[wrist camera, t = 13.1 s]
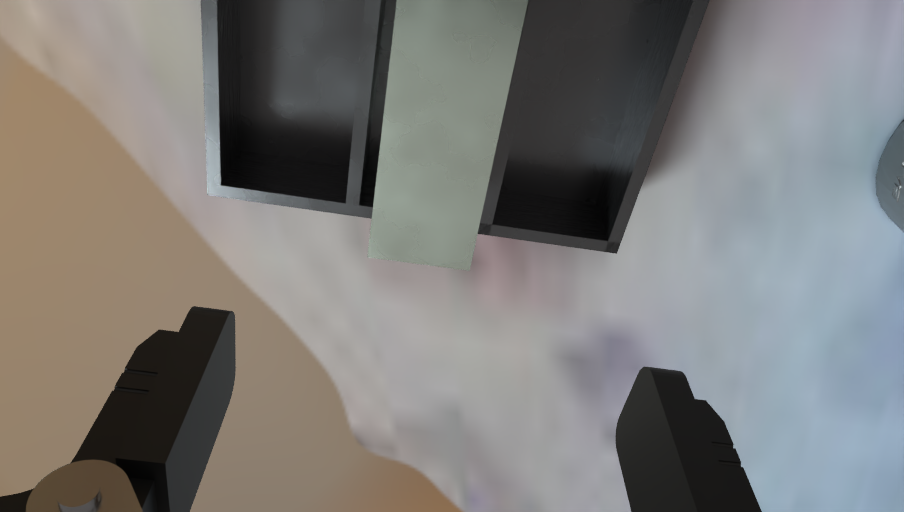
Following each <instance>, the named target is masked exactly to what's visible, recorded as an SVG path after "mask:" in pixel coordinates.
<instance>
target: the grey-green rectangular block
mask: <svg viewBox="0 0 904 512" xmlns="http://www.w3.org/2000/svg"><path fill="white" fill-rule="evenodd" d="M527 4H528V0H397V2H396V11H395V19H394V28H393V37H392V46H391V54H390V63H389V72H388V81H387V89H386V98H385V107H384V116H383V124H382V133H381V142H380V151H379V159H378V168H377V177H376V186H375V194H374V203H373V212H372V221H371V229H370V238H369V247H368V256H367V257H370V258H377V259H385V260H392V261H400V262H407V263H415V264H423V265H430V266H438V267H445V268H453V269H460V270H468V271H469V270H470V266H471V261H472V257H473V252H474V247H475V243H476V238H477V234H478V229H479V225H480V220H481V215H482V211H483V206H484V202H485V197H486V192H487V188H488V183H489V179H490V174H491V169H492V165H493V160H494V156H495V151H496V147H497V142H498V137H499V133H500V128H501V124H502V119H503V114H504V110H505V105H506V101H507V96H508V91H509V87H510V82H511V78H512V73H513V68H514V64H515V59H516V55H517V50H518V46H519V41H520V36H521V32H522V27H523V23H524V18H525V13H526V9H527Z"/></svg>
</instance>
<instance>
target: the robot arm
mask: <svg viewBox="0 0 904 512" xmlns="http://www.w3.org/2000/svg"><path fill="white" fill-rule="evenodd" d="M876 194H877V197H878V200H879V203H880V206H881V208H882V209H883V210H884V212H885V213H886V214H887V216H888V217H889V218H890V219H891V220H892V221H893V222H894V223H895V224H896V225H897V226H898V227H899V228H900V229H901V230H902V231H903V232H904V121H903V122H902V123H901V124H900V125H899V127H898V128H897V130H896V131H895V133H894V134H893V135H892V137H891V138H890V140H889V141H888V143H887V145H886V147H885V149H884V151H883V154H882V156H881V158H880V160H879V165H878V169H877V174H876ZM234 380H235V315H234V312H233V311H226V310H219V309H211V308H203V307H196V306H194V307H192V308H191V309H190V311H189V312H188V314H187V316H186V318H185V320H184V322H183V324H182V326H181V328H180V330H179V332H174V331H166V330H158V331H157V332H155V333H154V334H153V335H152V336H150V337H149V338H148V339H146V340H145V341H144V342H143V343H142V344H140V345H139V346H138V347H137V348H136V350H135V351H134V353H133V355H132V357H131V359H130V360H129V362H128V364H127V366H126V367H125V371H124V373H122V374H121V376H120V378H119V380H118V381H117V383H116V385H115V389H114V391H112V392H111V394H110V396H109V397H108V399H107V401H106V403H105V404H104V406H103V408H102V410H101V412H100V413H99V415H98V417H97V419H96V421H95V422H94V424H93V426H92V428H91V429H90V431H89V433H88V435H87V436H86V438H85V440H84V442H83V444H82V445H81V447H80V449H79V451H78V452H77V454H76V456H75V457H74V459H73V460H72V462H71V463H70V464H67V465H65V466H62V467H60V468H58V469H57V470H55V471H53V472H51V473H50V474H48V475H47V476H46V477H44V478H43V479H42V480H41V481H40V482H39V483H38V484H37V485H36V487H35V488H34V489H31V490H28V491H25V492H22V493H18V494H13V495H8V496H2V497H0V512H190V509H191V506H192V504H193V501H194V498H195V496H196V493H197V490H198V487H199V484H200V482H201V479H202V476H203V474H204V471H205V468H206V465H207V463H208V460H209V457H210V454H211V452H212V449H213V446H214V443H215V441H216V438H217V435H218V432H219V430H220V427H221V424H222V421H223V419H224V416H225V413H226V410H227V408H228V405H229V402H230V399H231V395H232V391H233V386H234ZM616 449H617V453H618V457H619V462H620V466H621V470H622V474H623V478H624V482H625V487H626V491H627V495H628V499H629V503H630V507H631V512H762V511H761V509H760V507H759V504H758V502H757V499H756V497H755V495H754V492H753V490H752V487H751V485H750V483H749V480H748V478H747V475H746V473H745V471H744V468H743V467H741V461H740V459H739V456H738V454H737V452H736V449H733V442H732V440H731V437H730V435H729V432H728V430H727V428H726V425H725V423H724V421H723V420H722V419H721V418H720V416H719V415H718V414H717V413H716V412H715V411H714V410H713V408H712V407H711V406H710V405H709V404H708V403H707V401H705V400H698V399H694V396H693V394H692V391H691V388H690V386H689V383H688V381H687V378H686V376H685V375H684V373H683V372H681V371H675V370H668V369H660V368H652V367H643V368H642V369H641V370H640V371H639V373H638V375H637V378H636V380H635V382H634V384H633V387H632V389H631V391H630V394H629V396H628V398H627V400H626V403H625V405H624V407H623V410H622V412H621V414H620V416H619V419H618V423H617V428H616Z"/></svg>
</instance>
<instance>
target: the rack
mask: <svg viewBox="0 0 904 512" xmlns="http://www.w3.org/2000/svg"><path fill="white" fill-rule="evenodd" d="M396 2H397V0H201V19H202V49H203V78H204V107H205V137H206V166H207V195H211V196H218V197H225V198H232V199H239V200H246V201H253V202H260V203H267V204H274V205H281V206H288V207H295V208H302V209H309V210H316V211H323V212H330V213H337V214H344V215H351V216H358V217H365V218H372V212H373V203H374V194H375V186H376V177H377V168H378V159H379V151H380V142H381V133H382V124H383V116H384V107H385V98H386V89H387V81H388V72H389V63H390V54H391V46H392V37H393V28H394V19H395V11H396ZM708 3H709V0H528V4H527V9H526V13H525V18H524V23H523V27H522V32H521V36H520V41H519V46H518V50H517V55H516V59H515V64H514V68H513V73H512V78H511V82H510V87H509V91H508V96H507V101H506V105H505V110H504V114H503V119H502V124H501V128H500V133H499V137H498V142H497V147H496V151H495V156H494V160H493V165H492V169H491V174H490V179H489V183H488V188H487V192H486V197H485V202H484V206H483V211H482V215H481V220H480V225H479V229H478V234H484V235H491V236H498V237H505V238H512V239H519V240H526V241H533V242H540V243H547V244H554V245H561V246H568V247H575V248H582V249H589V250H596V251H603V252H610V253H617V251H618V249H619V246H620V243H621V240H622V238H623V235H624V232H625V229H626V227H627V224H628V221H629V218H630V216H631V213H632V210H633V208H634V205H635V202H636V199H637V197H638V194H639V191H640V188H641V186H642V183H643V180H644V177H645V175H646V172H647V169H648V167H649V164H650V161H651V158H652V156H653V153H654V150H655V147H656V145H657V142H658V139H659V136H660V134H661V131H662V128H663V126H664V123H665V120H666V117H667V115H668V112H669V109H670V106H671V104H672V101H673V98H674V95H675V93H676V90H677V87H678V85H679V82H680V79H681V76H682V74H683V71H684V68H685V65H686V63H687V60H688V57H689V54H690V52H691V49H692V46H693V44H694V41H695V38H696V35H697V33H698V30H699V27H700V24H701V22H702V19H703V16H704V13H705V11H706V8H707V5H708Z"/></svg>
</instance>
